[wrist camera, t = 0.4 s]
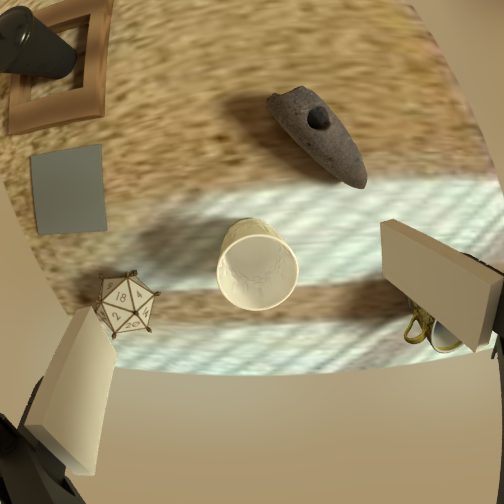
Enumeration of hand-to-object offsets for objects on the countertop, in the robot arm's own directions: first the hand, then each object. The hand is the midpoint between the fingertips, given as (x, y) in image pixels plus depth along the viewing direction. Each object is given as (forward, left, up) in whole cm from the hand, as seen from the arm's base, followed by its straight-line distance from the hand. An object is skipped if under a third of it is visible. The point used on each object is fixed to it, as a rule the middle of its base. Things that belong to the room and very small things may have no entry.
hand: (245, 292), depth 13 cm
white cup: (+6, +2, -26) cm, 27 cm away
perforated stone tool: (-7, +10, -26) cm, 29 cm away
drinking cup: (-20, -23, -26) cm, 40 cm away
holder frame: (-20, -23, -26) cm, 40 cm away
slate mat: (-2, -22, -26) cm, 34 cm away
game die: (+12, -14, -26) cm, 32 cm away
